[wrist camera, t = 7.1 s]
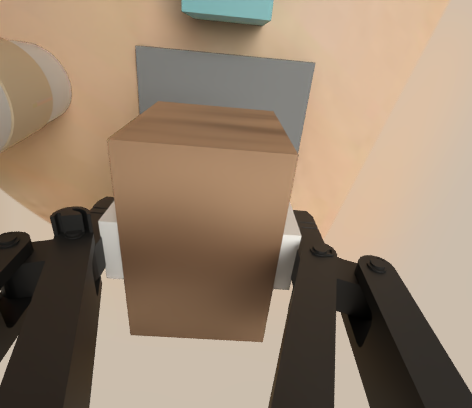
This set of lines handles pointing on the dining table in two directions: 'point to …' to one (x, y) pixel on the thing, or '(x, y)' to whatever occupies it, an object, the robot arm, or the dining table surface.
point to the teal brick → (230, 10)
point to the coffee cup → (29, 90)
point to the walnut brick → (201, 218)
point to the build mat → (226, 83)
